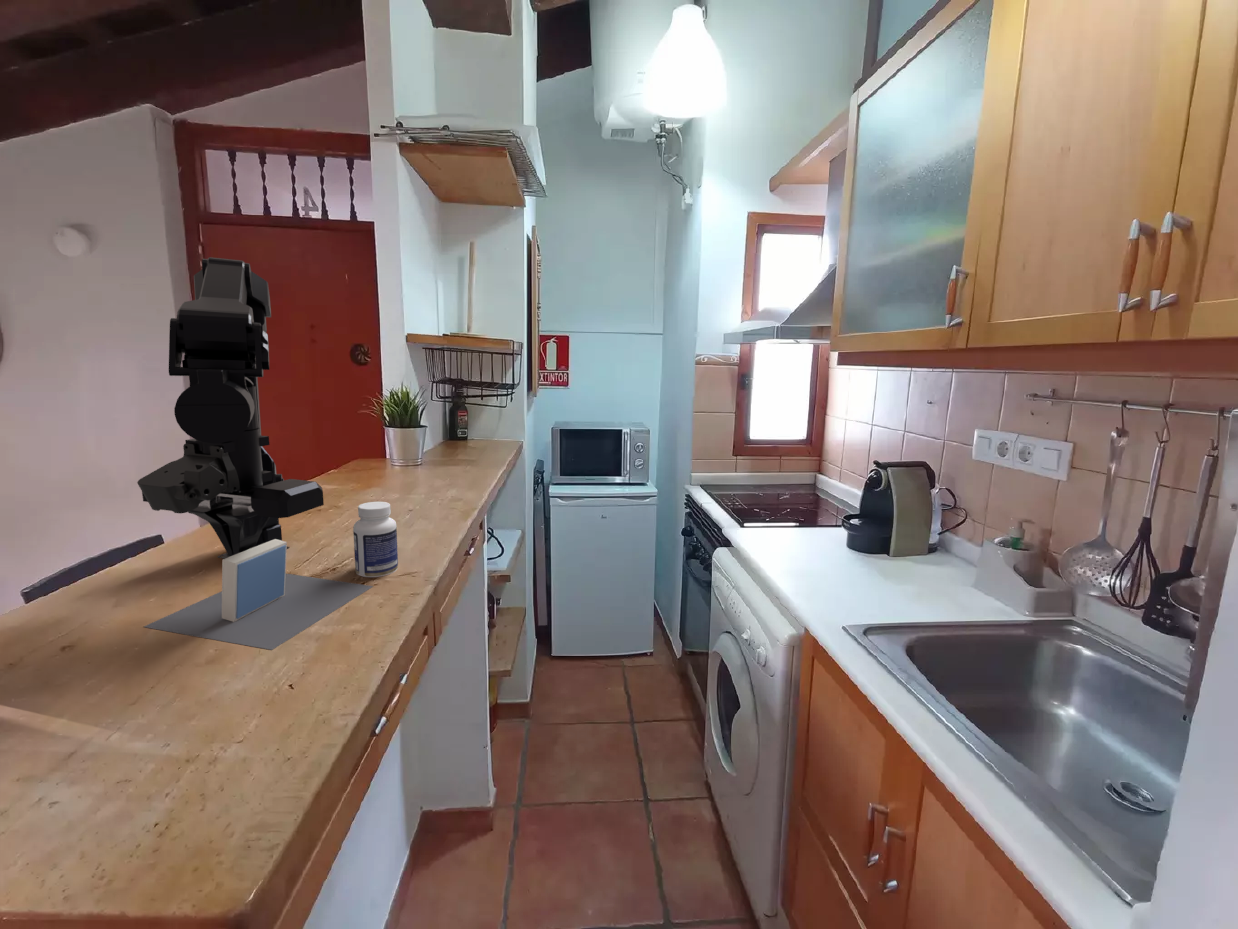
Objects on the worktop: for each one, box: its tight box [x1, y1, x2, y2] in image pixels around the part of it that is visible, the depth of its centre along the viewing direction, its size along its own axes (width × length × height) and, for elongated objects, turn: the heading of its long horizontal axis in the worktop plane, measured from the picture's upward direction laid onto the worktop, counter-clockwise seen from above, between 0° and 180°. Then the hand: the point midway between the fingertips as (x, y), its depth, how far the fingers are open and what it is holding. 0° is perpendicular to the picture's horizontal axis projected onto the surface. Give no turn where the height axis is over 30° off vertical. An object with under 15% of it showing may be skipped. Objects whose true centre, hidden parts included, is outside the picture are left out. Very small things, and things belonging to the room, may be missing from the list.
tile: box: [221, 539, 288, 622], centre depth 63 cm, size 2×7×7 cm, turn 168°
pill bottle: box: [352, 501, 399, 578], centre depth 75 cm, size 5×5×10 cm
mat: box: [143, 573, 374, 651], centre depth 65 cm, size 16×16×1 cm
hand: (240, 564), depth 63 cm, fingers closed
